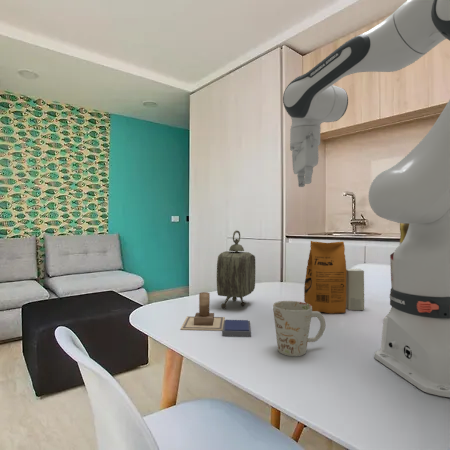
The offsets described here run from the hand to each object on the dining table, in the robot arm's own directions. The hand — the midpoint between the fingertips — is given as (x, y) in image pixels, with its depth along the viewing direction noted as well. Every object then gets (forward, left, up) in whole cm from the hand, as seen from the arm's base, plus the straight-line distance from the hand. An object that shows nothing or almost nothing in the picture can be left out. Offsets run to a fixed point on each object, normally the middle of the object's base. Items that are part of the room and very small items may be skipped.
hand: (304, 185), depth 101 cm
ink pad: (-16, +20, -39) cm, 47 cm away
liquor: (-6, -27, -39) cm, 48 cm away
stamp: (-11, +29, -39) cm, 50 cm away
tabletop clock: (+9, +20, -39) cm, 45 cm away
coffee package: (+6, -8, -39) cm, 41 cm away
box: (+8, -18, -39) cm, 44 cm away
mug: (-28, +6, -39) cm, 49 cm away
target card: (-11, +29, -39) cm, 50 cm away
